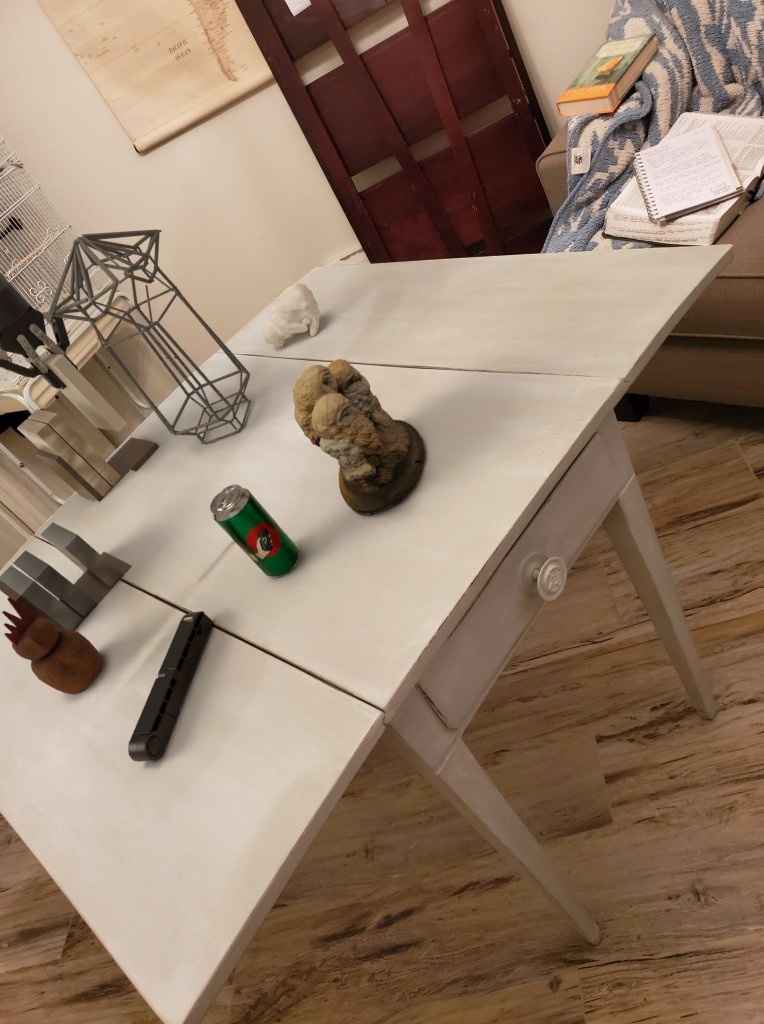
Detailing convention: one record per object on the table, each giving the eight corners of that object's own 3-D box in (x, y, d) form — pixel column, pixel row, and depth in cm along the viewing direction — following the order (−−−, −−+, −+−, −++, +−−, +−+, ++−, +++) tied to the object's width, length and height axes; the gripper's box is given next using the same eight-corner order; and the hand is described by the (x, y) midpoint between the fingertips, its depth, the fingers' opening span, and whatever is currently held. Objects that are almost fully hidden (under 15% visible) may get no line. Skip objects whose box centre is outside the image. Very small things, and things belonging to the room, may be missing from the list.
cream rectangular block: (118, 432, 121) (52, 363, 112) (96, 427, 127) (32, 362, 118) (127, 423, 122) (63, 354, 113) (104, 418, 128) (42, 353, 119)
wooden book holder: (103, 505, 121) (32, 438, 112) (81, 496, 128) (11, 432, 118) (159, 446, 126) (95, 377, 117) (134, 440, 133) (72, 374, 123)
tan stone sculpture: (436, 496, 83) (366, 384, 72) (346, 537, 85) (267, 434, 75) (416, 410, 96) (355, 306, 86) (339, 447, 99) (271, 351, 89)
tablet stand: (159, 765, 75) (140, 753, 73) (141, 766, 76) (122, 753, 74) (216, 621, 87) (200, 607, 85) (199, 623, 88) (184, 609, 86)
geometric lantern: (177, 466, 118) (12, 288, 97) (205, 405, 129) (62, 233, 107) (254, 440, 112) (96, 243, 90) (277, 379, 122) (140, 189, 101)
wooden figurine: (103, 648, 94) (14, 580, 85) (119, 666, 90) (27, 597, 80) (63, 689, 92) (-32, 625, 83) (78, 710, 88) (-21, 644, 78)
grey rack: (71, 643, 98) (15, 602, 92) (45, 623, 105) (-9, 583, 99) (137, 569, 103) (87, 525, 97) (108, 555, 109) (60, 512, 103)
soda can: (307, 544, 88) (251, 478, 81) (293, 578, 85) (233, 513, 78) (274, 548, 91) (218, 484, 83) (260, 581, 88) (200, 518, 80)
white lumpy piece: (300, 288, 120) (244, 325, 124) (330, 327, 125) (275, 361, 129) (301, 272, 125) (247, 309, 129) (329, 310, 130) (277, 344, 134)
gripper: (12, 267, 113) (90, 353, 124) (-57, 324, 108) (30, 409, 119) (29, 264, 108) (108, 354, 119) (-43, 324, 103) (47, 413, 113)
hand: (69, 381), depth 119 cm, fingers closed on cream rectangular block, 2 cm apart
